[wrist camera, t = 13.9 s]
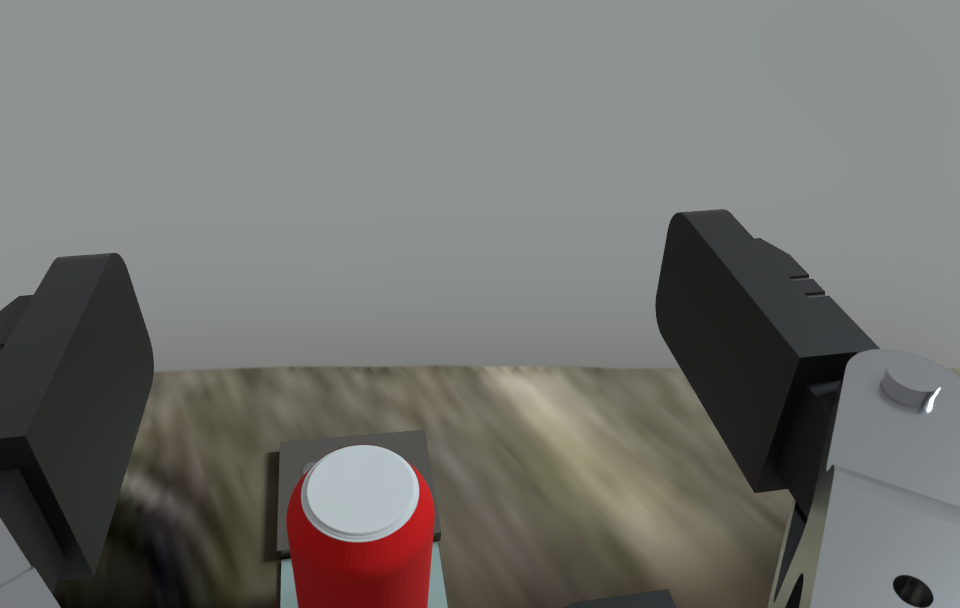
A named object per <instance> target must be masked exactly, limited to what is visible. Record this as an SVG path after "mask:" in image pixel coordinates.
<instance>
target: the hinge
mask: <svg viewBox="0 0 960 608" xmlns="http://www.w3.org/2000/svg"><path fill="white" fill-rule="evenodd" d="M362 444H365V445H375V446H380V447H384V448H387V449H389V450H392V451H394V452H396V453H397V454H399V455H400V456H402V457H403V458H404V459H405V460H407V461H408V462H409V463H410V464H411V465H412V466H414V467H415V468H416V469H417V470H418V472H419V473H420V474H421V475H422V477H423V478H424V480H425V481H426V483H427V485H428V487H429V489H430V492H431V494H432V498H433V502H434V509H435V520H434V533H433V541H437V540H440V538H441V529H440V523H439V517H438V510H437V504H436V498H435V492H434V485H433V479H432V473H431V466H430V460H429V454H428V448H427V441H426V435H425V430H417V431H405V432H394V433H382V434H370V435H359V436H347V437H336V438H324V439H312V440H301V441H289V442H280V457H279V491H278V526H277V555H278V559H281V558H290V557H291V555H290V548H289V541H288V534H287V525H286V516H287V509H288V504H289V501H290V498H291V495H292V493H293V491H294V488H295V487H296V485H297V483H298V482H299V480H300V479H301V478H302V476H303V475H304V474H305V473H306V472H307V471H308V470H309V469H310V468H311V467H312V466H313V465H314V464H315V463H316V462H317V461H318V460H319V459H321V458H322V457H323V456H325V455H327V454H328V453H330V452H332V451H334V450H337V449H339V448H343V447H346V446H351V445H362ZM280 608H298V603H297V596H296V589H295V582H294V575H293V568H292V561H291V559H284V560H281V603H280ZM427 608H448V607H447V600H446V594H445V587H444V581H443V574H442V568H441V561H440V555H439V548H438V542H433V545H432V557H431V570H430V582H429V594H428V607H427Z"/></svg>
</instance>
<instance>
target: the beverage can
mask: <svg viewBox="0 0 960 608" xmlns="http://www.w3.org/2000/svg"><path fill="white" fill-rule="evenodd" d="M434 520H435V509H434V502H433V498H432V494H431V492H430V489H429V487H428V485H427V483H426V481H425V480H424V478H423V477H422V475H421V474H420V473H419V472H418V470H417V469H416V468H415V467H414V466H412V465H411V464H410V463H409V462H408V461H407V460H405V459H404V458H403V457H402V456H400V455H399V454H397V453H396V452H394V451H392V450H389V449H387V448H384V447H380V446H375V445H365V444H362V445H351V446H346V447H343V448H339V449H337V450H334V451H332V452H330V453H328V454H327V455H325V456H323V457H322V458H321V459H319V460H318V461H317V462H316V463H315V464H314V465H313V466H312V467H311V468H310V469H309V470H308V471H307V472H306V473H305V474H304V475H303V476H302V478H301V479H300V480H299V482H298V483H297V485H296V487H295V488H294V491H293V493H292V495H291V498H290V501H289V504H288V509H287V516H286V525H287V534H288V541H289V548H290V555H291V561H292V568H293V575H294V582H295V589H296V596H297V603H298V608H427V607H428V594H429V582H430V570H431V557H432V545H433V533H434Z"/></svg>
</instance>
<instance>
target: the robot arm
mask: <svg viewBox="0 0 960 608" xmlns="http://www.w3.org/2000/svg"><path fill="white" fill-rule="evenodd" d="M656 318H657V323H658V327H659V330H660V333H661V335H662V337H663V339H664V341H665V342H666V344H667V346H668V347H669V349H670V351H671V352H672V354H673V356H674V357H675V359H676V361H677V363H678V364H679V366H680V368H681V369H682V371H683V373H684V374H685V376H686V378H687V379H688V381H689V383H690V385H691V386H692V388H693V390H694V391H695V393H696V395H697V396H698V398H699V400H700V401H701V403H702V405H703V407H704V408H705V410H706V412H707V413H708V415H709V417H710V418H711V420H712V422H713V423H714V425H715V427H716V429H717V430H718V432H719V434H720V435H721V437H722V439H723V440H724V442H725V444H726V445H727V447H728V449H729V451H730V452H731V454H732V456H733V457H734V459H735V461H736V462H737V464H738V466H739V467H740V469H741V471H742V473H743V474H744V476H745V478H746V479H747V481H748V483H749V484H750V486H751V488H752V489H753V491H754V493H759V492H767V491H775V490H782V489H788V490H789V491H790V493H791V494H792V496H793V497H794V499H795V501H794V503H793V506H792V509H791V511H790V514H789V517H788V521H787V525H786V529H785V533H784V538H783V542H782V546H781V551H780V555H779V559H778V563H777V568H776V572H775V576H774V581H773V585H772V589H771V593H770V598H769V602H768V606H767V608H960V377H958V376H957V375H956V374H954V373H953V372H952V371H950V370H949V369H947V368H946V367H944V366H942V365H940V364H938V363H936V362H934V361H932V360H930V359H927V358H925V357H922V356H919V355H916V354H913V353H909V352H904V351H899V350H892V349H880V348H879V347H878V346H877V345H876V344H875V343H874V342H873V341H872V340H871V339H870V338H869V337H868V336H867V335H866V334H865V333H864V332H863V331H862V330H861V328H860V327H859V326H857V324H856V323H855V322H854V321H853V320H852V319H851V318H850V317H849V316H848V315H847V314H846V313H845V312H844V311H843V310H842V309H841V308H840V307H839V306H838V305H837V304H836V303H835V301H834V300H833V299H832V298H831V297H830V296H825V291H824V290H823V289H822V288H821V287H820V286H819V285H818V284H817V283H816V282H815V281H814V280H813V279H809V274H808V273H807V272H806V271H805V270H804V269H803V268H802V267H801V266H800V265H799V264H798V263H797V262H796V261H795V260H794V259H793V258H792V257H791V256H790V255H789V254H787V253H786V252H784V251H782V250H780V249H778V248H777V247H775V246H773V245H771V244H769V243H768V242H766V241H764V240H762V239H761V238H756V239H754V238H753V237H752V236H751V235H750V234H749V233H748V232H747V231H746V229H745V228H744V227H743V226H742V225H741V224H740V223H739V222H738V221H737V220H736V219H735V217H733V215H732V214H731V213H730V212H729V211H727V210H723V209H721V210H707V211H695V212H694V211H693V212H680V213H676V214H675V215H674V216H673V217H672V219H671V221H670V224H669V227H668V232H667V238H666V244H665V249H664V256H663V261H662V266H661V272H660V277H659V283H658V290H657V294H656ZM153 361H154V360H153V352H152V346H151V342H150V338H149V335H148V332H147V329H146V326H145V323H144V319H143V316H142V313H141V310H140V307H139V304H138V301H137V298H136V295H135V291H134V288H133V285H132V282H131V279H130V276H129V273H128V270H127V267H126V264H125V262H124V261H123V259H122V257H121V256H120V255H119V254H117V253H109V254H96V255H95V254H94V255H81V256H69V257H68V256H67V257H58V258H56V259H55V260H54V262H53V263H52V265H51V267H50V268H49V270H48V272H47V273H46V275H45V277H44V278H43V280H42V282H41V284H40V285H39V287H38V289H37V290H36V292H35V294H34V295H27V296H19V297H17V298H16V299H15V300H14V301H12V302H11V303H10V304H9V305H7V306H6V307H5V308H3V309H2V310H1V311H0V608H61V607H60V606H59V604H58V603H57V601H56V600H55V598H54V597H53V592H54V589H55V586H56V583H57V581H60V580H68V579H76V578H84V577H91V576H95V572H96V569H97V566H98V562H99V559H100V556H101V552H102V549H103V546H104V542H105V539H106V536H107V532H108V529H109V526H110V522H111V519H112V516H113V512H114V509H115V506H116V502H117V499H118V496H119V492H120V489H121V486H122V482H123V479H124V476H125V473H126V469H127V466H128V463H129V459H130V456H131V453H132V449H133V446H134V443H135V439H136V436H137V433H138V429H139V426H140V423H141V419H142V416H143V413H144V409H145V406H146V403H147V399H148V396H149V393H150V389H151V386H152V382H153V374H154V362H153ZM563 608H676V607H675V604H674V602H673V600H672V597H671V595H670V592H669V590H668V589H666V590H659V591H653V592H646V593H639V594H632V595H625V596H618V597H611V598H605V599H598V600H591V601H584V602H577V603H573V604H571V605H568V606H566V607H563Z"/></svg>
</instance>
